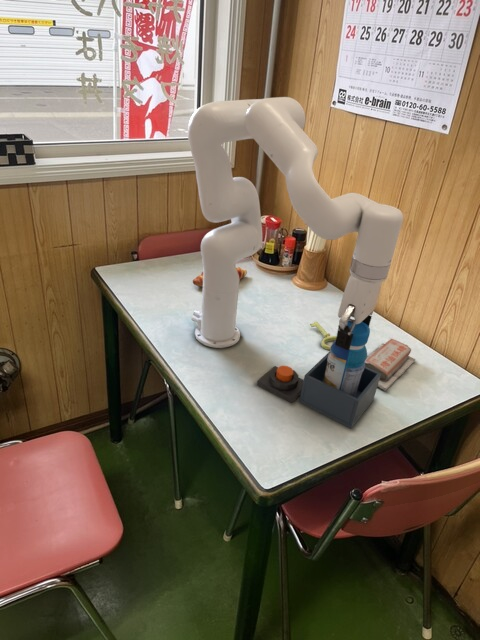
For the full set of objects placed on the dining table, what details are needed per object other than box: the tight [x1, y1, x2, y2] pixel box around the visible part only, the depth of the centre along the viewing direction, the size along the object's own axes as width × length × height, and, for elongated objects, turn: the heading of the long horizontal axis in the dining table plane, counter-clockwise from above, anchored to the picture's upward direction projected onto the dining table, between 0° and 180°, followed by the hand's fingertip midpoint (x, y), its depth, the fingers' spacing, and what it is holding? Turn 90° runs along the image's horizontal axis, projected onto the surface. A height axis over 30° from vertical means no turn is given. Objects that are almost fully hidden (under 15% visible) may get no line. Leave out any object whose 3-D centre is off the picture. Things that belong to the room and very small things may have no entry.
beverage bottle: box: [323, 318, 371, 398], centre depth 109 cm, size 8×8×20 cm
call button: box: [276, 365, 294, 382], centre depth 115 cm, size 4×4×2 cm
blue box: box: [299, 351, 381, 429], centre depth 112 cm, size 13×13×8 cm
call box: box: [256, 365, 304, 404], centre depth 117 cm, size 10×8×3 cm
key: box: [309, 321, 337, 351], centre depth 136 cm, size 7×12×2 cm, turn 44°
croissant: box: [192, 266, 248, 288], centre depth 160 cm, size 21×10×8 cm, turn 126°
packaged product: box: [365, 338, 416, 392], centre depth 126 cm, size 18×5×10 cm
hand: (351, 337), depth 105 cm, fingers open, 9 cm apart
